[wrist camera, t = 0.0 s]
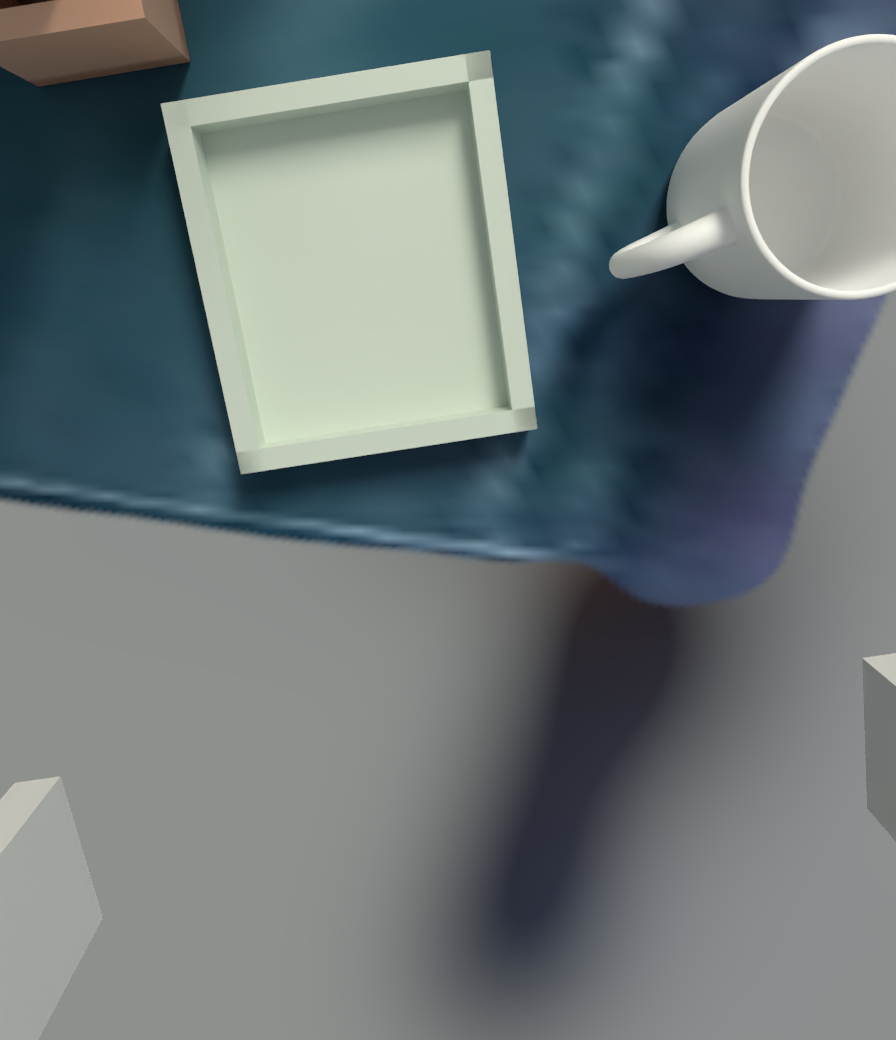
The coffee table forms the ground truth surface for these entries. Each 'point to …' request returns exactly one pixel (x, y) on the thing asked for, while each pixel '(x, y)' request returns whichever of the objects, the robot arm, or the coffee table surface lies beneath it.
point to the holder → (88, 38)
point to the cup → (790, 185)
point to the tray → (356, 260)
